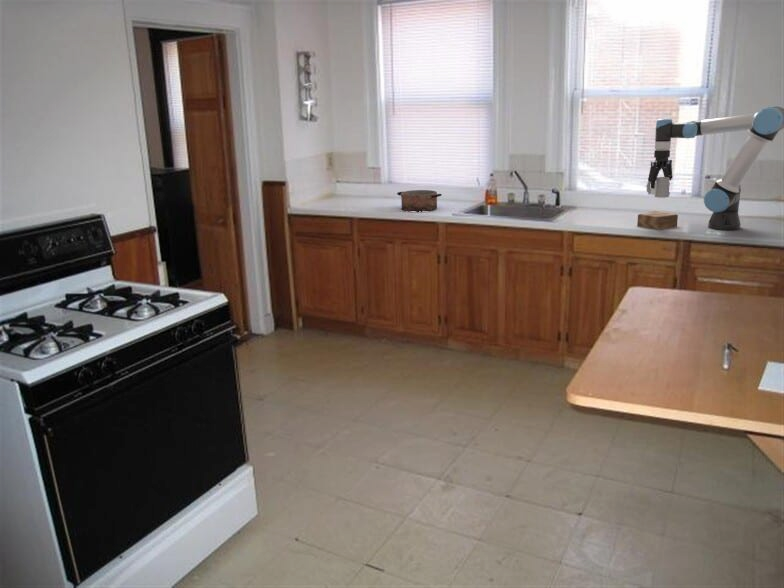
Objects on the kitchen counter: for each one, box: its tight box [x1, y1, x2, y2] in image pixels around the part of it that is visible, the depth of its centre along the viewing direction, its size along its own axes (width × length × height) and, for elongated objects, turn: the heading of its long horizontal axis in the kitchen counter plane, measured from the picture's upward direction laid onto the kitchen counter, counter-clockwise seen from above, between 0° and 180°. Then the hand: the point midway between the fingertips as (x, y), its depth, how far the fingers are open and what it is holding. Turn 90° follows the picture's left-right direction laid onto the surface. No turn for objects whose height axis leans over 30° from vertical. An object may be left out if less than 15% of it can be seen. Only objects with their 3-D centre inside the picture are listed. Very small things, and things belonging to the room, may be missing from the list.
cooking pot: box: [396, 189, 443, 213], centre depth 446 cm, size 30×22×11 cm
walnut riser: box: [637, 210, 679, 230], centre depth 373 cm, size 14×14×6 cm
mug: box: [645, 176, 671, 199], centre depth 368 cm, size 8×12×12 cm, turn 82°
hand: (659, 193), depth 369 cm, fingers closed on mug, 9 cm apart
